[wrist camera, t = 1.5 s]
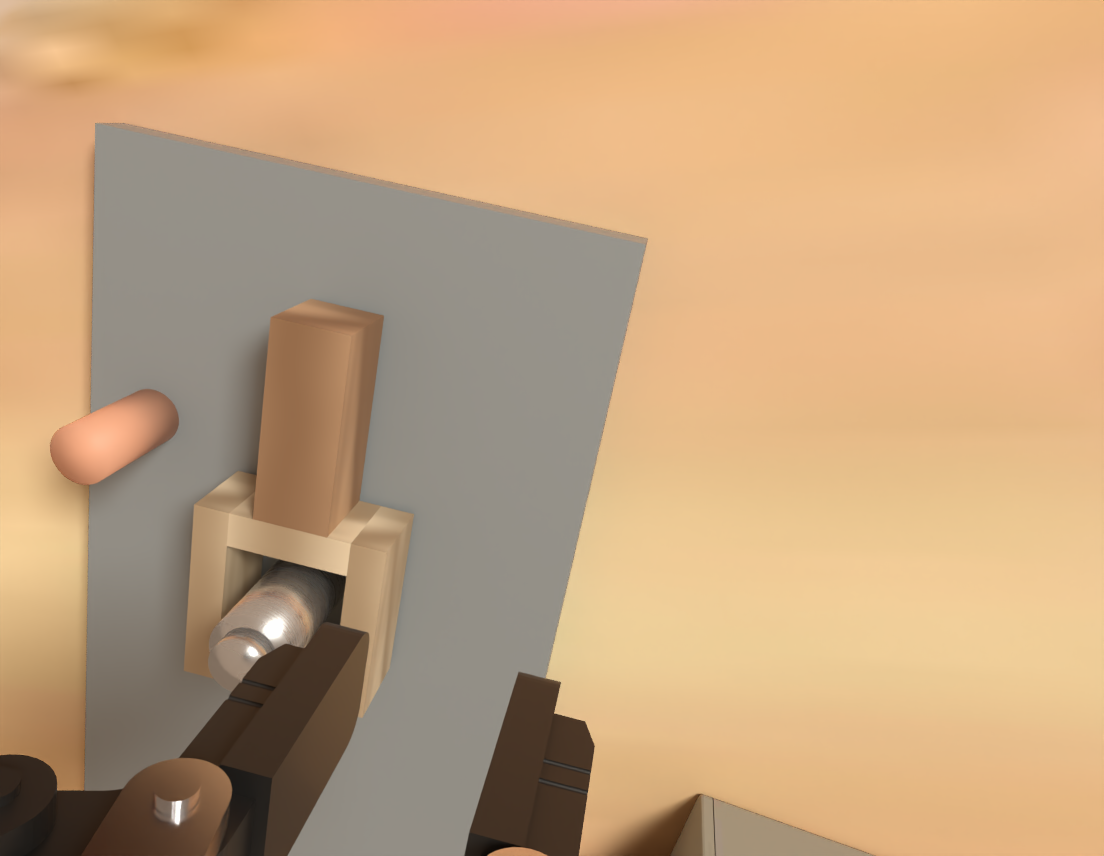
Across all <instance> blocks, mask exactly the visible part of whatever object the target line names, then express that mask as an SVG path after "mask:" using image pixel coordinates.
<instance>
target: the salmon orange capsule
mask: <svg viewBox="0 0 1104 856" xmlns="http://www.w3.org/2000/svg"><path fill="white" fill-rule="evenodd" d="M178 426H179V416H178V412H177V410H176V407H175V406H174V404H173V403H172V401H171V400H170V399H169V398H168V397H167V396H165V395H164V394H162V393H161V392H159V391H156V390H152V389H142V390H139V391H137V392H135V393H133V394H130V395H128V396H126V397H124V398H122V399H120V400H118V401H116V402H114V403H112V404H110V405H107V406H105V407H103V408H101V409H99V410H97V411H95V412H93V413H91V414H89V415H87V416H84V417H82V418H80V419H78V420H76V421H74V422H72V423H70V424H68V425H66V426H64V427H62V428H60V429H59V430H57V431H56V432H55V434H54V435H53V437H52V440H51V444H50V452H51V457H52V460H53V462H54V464H55V466H56V467H57V469H58V470H59V471H60V472H61V473H62V474H63V475H64V476H65V477H66V478H68V479H69V480H71V481H73V482H75V483H78V484H83V485H91V484H95V483H98V482H100V481H101V480H103V479H105V478H106V477H108V476H110V475H111V474H113V473H114V472H116V471H118V470H119V469H121V468H123V467H124V466H126V465H128V464H129V463H131V462H133V461H134V460H136V459H138V458H139V457H141V456H143V455H144V454H146V453H148V452H149V451H151V450H153V449H154V448H156V447H158V446H159V445H161V444H163V443H164V442H166V441H168V440H169V439H171V438H172V437H173V436H174V435H175V433H176V432H177V430H178Z"/></svg>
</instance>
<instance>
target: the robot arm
mask: <svg viewBox="0 0 1104 856" xmlns="http://www.w3.org/2000/svg"><path fill="white" fill-rule="evenodd" d="M368 649H369V633H368V632H364V631H360V630H357V629H353V628H349V627H345V626H341V625H337V624H333V623H329V622H324V623H323V624H322V625H321V627H320V628H319V629H318V631H317V632H316V633H315V635H314V636H313V638H312V639H311V640H310V642H309V643H308V644H307V646H306V647H305V648H301V647H297V646H293V645H290V644H286V643H285V644H283V645H282V646H280V647H278V648H276V649H274V650H273V651H271V652H269V653H267V654H265V655H264V656H262V657H260V658H259V659H258V660H257V661H256V662H255V664H254V665H253V666H252V667H251V669H250V670H249V671H248V672H247V674H246V675H245V676H244V677H243V679H242V682H241V683H240V682H239V684H238V685H237V686H236V687H235V689H234V690H233V691H232V692H231V694H230V695H229V698H228V700H225V701H224V702H223V703H222V705H221V706H220V707H219V708H218V710H217V711H216V712H215V713H214V715H213V716H212V717H211V718H210V720H209V721H208V722H207V723H206V725H205V726H204V727H203V728H202V730H201V731H200V732H199V733H198V734H197V736H196V737H195V738H194V739H193V741H192V742H191V743H190V744H189V746H188V747H187V748H186V749H185V751H184V752H183V753H182V754H181V756H180V757H179V758H176V759H169V760H165V761H161V762H158V763H156V764H153V765H151V766H149V767H147V768H145V769H143V770H141V771H140V772H139V773H137V774H136V775H135V776H134V777H132V778H131V779H130V780H129V781H128V783H127V784H126V785H125V787H124V788H123V789H117V790H105V791H57V779H56V775H55V773H54V771H53V770H52V769H51V767H50V766H49V765H47V764H46V763H45V762H43V761H41V760H39V759H37V758H33V757H30V756H24V755H0V856H288V854H289V852H290V850H291V849H292V847H293V845H294V843H295V841H296V839H297V838H298V836H299V834H300V832H301V830H302V828H303V827H304V825H305V823H306V821H307V819H308V818H309V816H310V814H311V812H312V810H313V808H314V807H315V805H316V803H317V801H318V799H319V797H320V796H321V794H322V792H323V790H324V788H325V786H326V785H327V783H328V781H329V779H330V777H331V775H332V774H333V772H334V770H335V768H336V766H337V765H338V763H339V761H340V759H341V757H342V755H343V754H344V752H345V750H346V748H347V746H348V744H349V742H350V739H351V737H352V734H353V731H354V728H355V725H356V722H357V718H358V714H359V709H360V703H361V696H362V689H363V683H364V676H365V669H366V662H367V655H368ZM560 684H561V682H558V681H554V680H550V679H546V678H542V677H538V676H534V675H530V674H527V673H523V672H518V675H517V678H516V681H515V685H514V688H513V691H512V694H511V698H510V701H509V704H508V707H507V711H506V714H505V717H504V720H503V724H502V727H501V730H500V733H499V737H498V740H497V743H496V747H495V750H494V753H493V756H492V760H491V763H490V766H489V769H488V773H487V776H486V779H485V782H484V786H483V789H482V792H481V795H480V799H479V802H478V805H477V808H476V812H475V815H474V818H473V821H472V825H471V828H470V831H469V835H468V840H467V845H466V850H465V854H464V856H579V849H580V842H581V835H582V829H583V822H584V815H585V808H586V801H587V793H588V788H589V781H590V773H591V767H592V760H593V754H594V747H595V746H594V743H593V741H592V738H591V736H590V733H589V730H588V728H587V725H586V723H585V721H581V720H577V719H573V718H569V717H566V716H562V715H558V714H554V711H555V706H556V702H557V697H558V693H559V688H560Z"/></svg>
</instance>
